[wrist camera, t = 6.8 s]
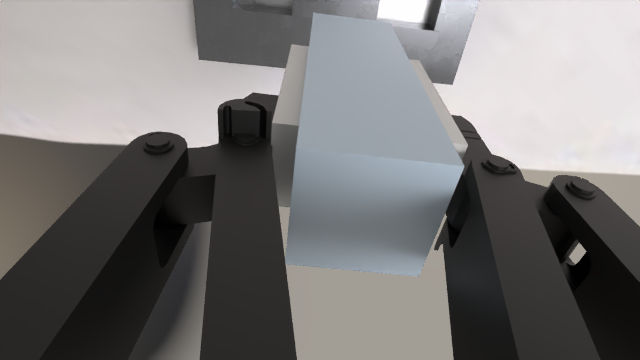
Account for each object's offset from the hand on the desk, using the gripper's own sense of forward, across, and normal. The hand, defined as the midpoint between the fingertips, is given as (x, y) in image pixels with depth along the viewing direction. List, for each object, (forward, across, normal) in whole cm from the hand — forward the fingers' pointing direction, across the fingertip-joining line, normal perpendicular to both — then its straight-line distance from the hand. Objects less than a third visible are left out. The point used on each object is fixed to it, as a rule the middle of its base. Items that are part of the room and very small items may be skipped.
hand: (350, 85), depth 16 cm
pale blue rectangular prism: (+4, 0, 0) cm, 4 cm away
